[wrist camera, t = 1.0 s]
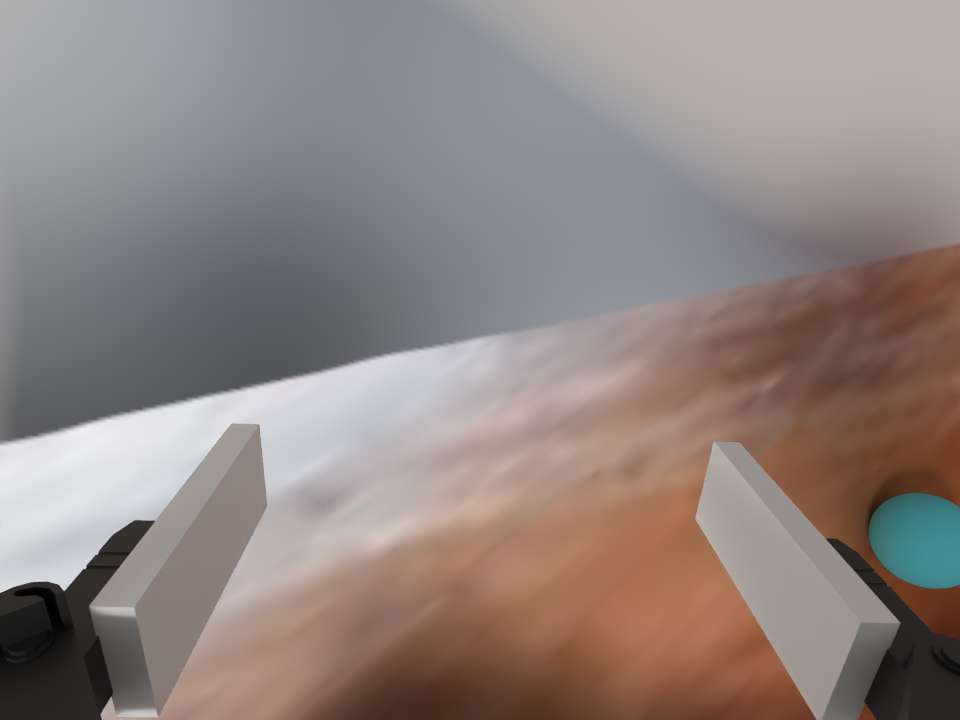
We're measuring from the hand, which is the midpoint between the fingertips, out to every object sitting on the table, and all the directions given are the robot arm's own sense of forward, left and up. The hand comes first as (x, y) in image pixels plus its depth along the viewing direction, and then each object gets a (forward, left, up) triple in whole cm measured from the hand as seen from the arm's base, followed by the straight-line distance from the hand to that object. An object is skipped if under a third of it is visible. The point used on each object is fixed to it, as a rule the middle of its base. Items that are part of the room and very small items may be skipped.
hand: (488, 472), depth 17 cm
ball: (-7, -33, -14) cm, 37 cm away
